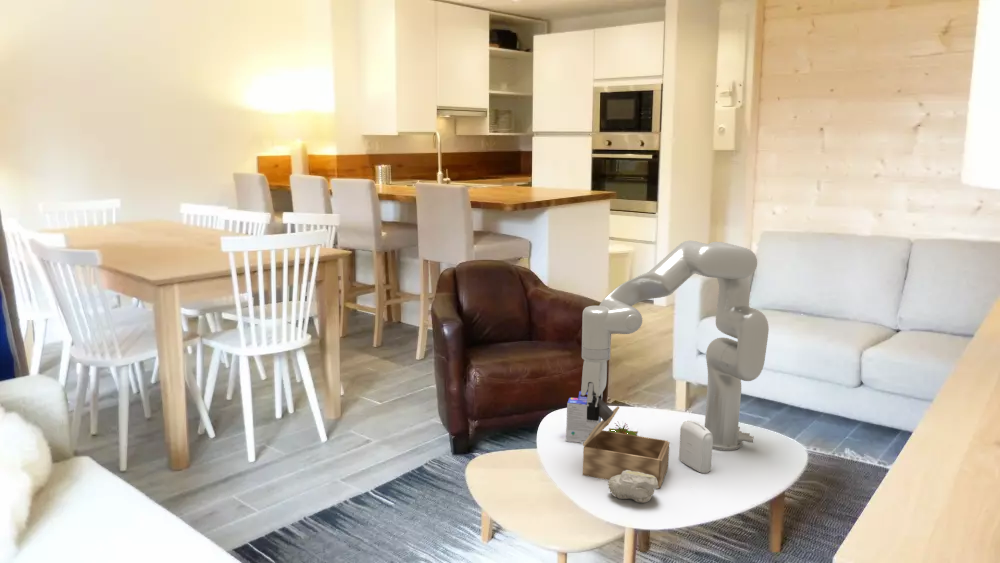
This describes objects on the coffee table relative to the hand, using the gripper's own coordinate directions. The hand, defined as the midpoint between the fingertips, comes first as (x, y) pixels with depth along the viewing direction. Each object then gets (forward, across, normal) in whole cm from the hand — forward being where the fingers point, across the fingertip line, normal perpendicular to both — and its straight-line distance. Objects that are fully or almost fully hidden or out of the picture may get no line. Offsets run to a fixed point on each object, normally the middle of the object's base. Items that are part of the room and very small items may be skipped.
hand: (594, 416), depth 204 cm
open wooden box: (+15, 0, +9) cm, 17 cm away
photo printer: (+15, -10, +26) cm, 32 cm away
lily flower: (+15, -23, +3) cm, 28 cm away
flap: (+3, 0, +2) cm, 3 cm away
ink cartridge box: (+15, -16, -7) cm, 23 cm away
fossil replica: (+15, +14, +14) cm, 25 cm away
